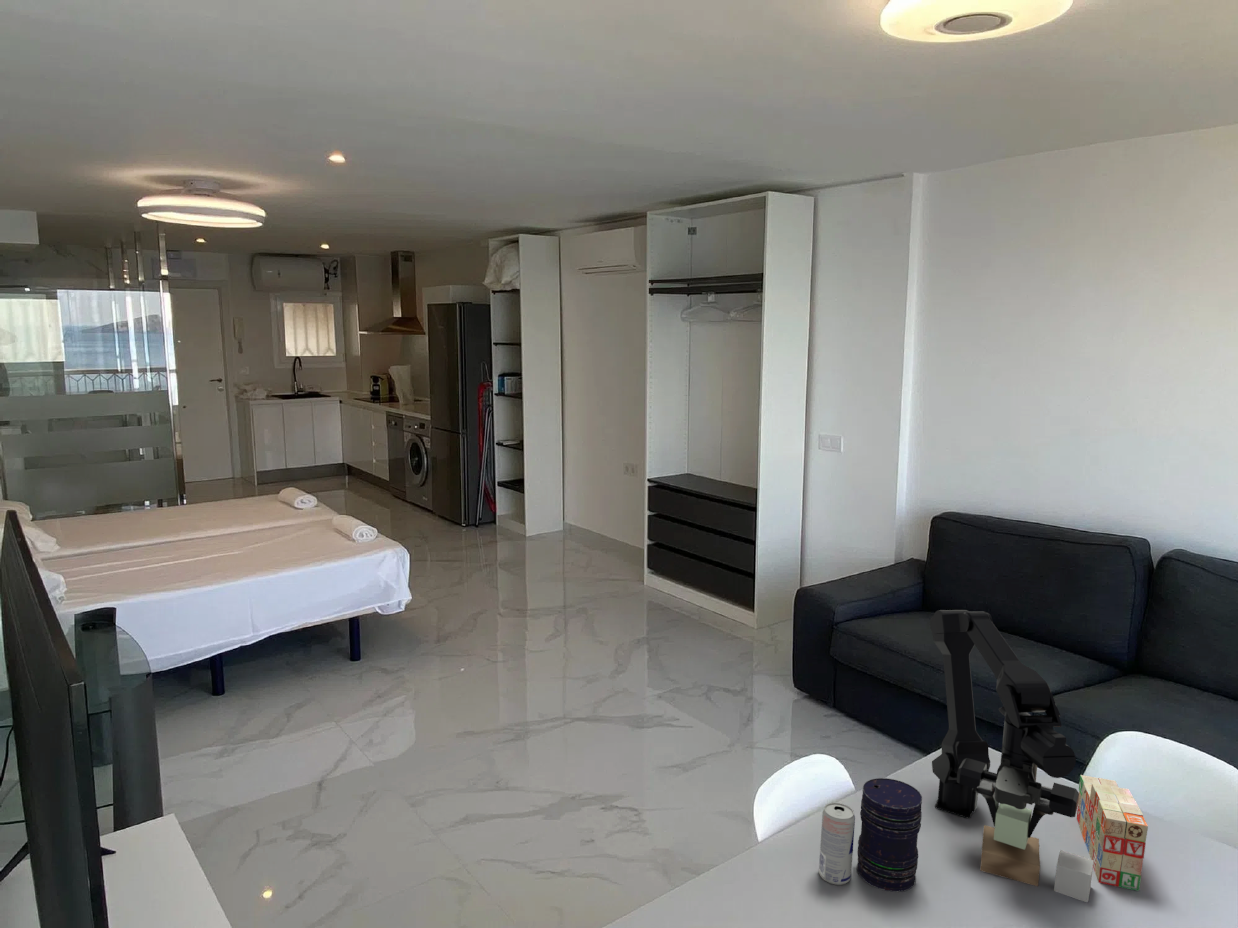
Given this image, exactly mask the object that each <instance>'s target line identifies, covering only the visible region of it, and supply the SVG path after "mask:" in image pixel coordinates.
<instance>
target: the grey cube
mask: <svg viewBox="0 0 1238 928" xmlns="http://www.w3.org/2000/svg"><path fill="white" fill-rule="evenodd" d="M1093 861H1094V860H1091V858H1089V857H1084V856H1081V855H1078V854H1075V853H1072V852H1069V851H1066V850H1062V849H1059V854H1058V858H1057V861H1056V866H1055V867H1056V869H1055V878H1054V888H1053V892H1056V893H1059V894H1061V895H1064V896H1067V897H1071V898H1073V899H1076V900H1079V901H1081V902H1084V903H1088V902H1089V898H1090V893H1091V888H1092V886H1091V885H1092V878H1093V870H1094V868H1093Z"/></svg>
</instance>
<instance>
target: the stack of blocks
mask: <svg viewBox="0 0 1238 928" xmlns="http://www.w3.org/2000/svg"><path fill="white" fill-rule="evenodd" d="M1078 792H1079V800H1078V806H1077V811H1076V820H1077V823H1078V826H1079V830H1080V833H1081V836H1082V838H1083V841H1084V844H1085V846H1086V849H1087V852H1088V854H1089V857H1090V858H1089V859H1091V860H1094V861H1093V870H1094V874H1095V876H1096V880H1097V883H1099V884H1104V885H1109V886H1113V887H1120V888H1122V889H1123V888H1124V889H1129V890H1132V891H1136V892H1139V891H1140V887H1141V883H1142V882H1141V880H1142V869H1143V864H1144V863H1143V861H1144V859H1145V853H1146V842H1147V838H1148V837H1147V835H1148V829H1149V825H1148V824H1147V822H1146V819H1145V817H1144V814H1143V812H1142V810H1141V809H1140V807H1139V804H1138V802H1137V801H1136V798H1134V796H1133V794H1132V792H1131V791H1130V789H1129V788H1126V787H1125V788H1124V787H1119V785H1118V783H1117V781H1116V780H1114V779H1108V778H1102V777H1101V778H1100V777H1094V776H1089V775H1083V774H1080V775H1079V783H1078Z"/></svg>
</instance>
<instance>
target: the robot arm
mask: <svg viewBox="0 0 1238 928" xmlns="http://www.w3.org/2000/svg"><path fill="white" fill-rule="evenodd" d="M929 627H930V630H931V634H932V641H933V643H934V644H935V645H936V648H938V650H939V651H940V652H941V654H942V658H943V659H942V660H943V672H944V683H945V695H946V706H947V708H946V709H947V720H948V730H947V732H946V734H945V736H944V737H943V740H942V741H941V753H940V754H939V755H938V756H937V757H936V758H934V759H932V761H931V766H932V767H931V768H932V770H931V771H932V773H933V774H934V775H935V776H936V777H937V779H939V782H938V793H937V794H938V795H937V800H936V803H935V805H934V807H935V808H936V809H939V810H941V811H945V812H947V813H948V812H949V813H951V814H954V815H957V816H960V817H963V818H966V819H970V818H971V816H972V814H973V813H975V812H976V809H977V807H978V799H979V794H980V795H981V796H982V797H983V798H984V799H985V801H986V804H987V806H988V810H989V812H990V816H991V820H992V824H993V827H994V828H995V820H996V812H997V810H998V807H999V805H1000V803H1001V804H1007V805H1010V806H1013V807H1015V808H1017V809H1025V808H1027V805H1030V806H1032V805H1033V804H1034V806H1033V809H1032V815H1031V821H1030V824H1029V828H1028V836H1027V837H1028V838H1030V837H1032V834H1033V833H1034V831H1035V829H1036V827H1037V825H1038V824H1039V822H1040V820H1042V818H1043V817H1044V816H1045V815H1049V816H1053V815H1054V813H1056V814H1059V815H1061V816H1065V817H1069V818H1076V816H1077V810H1078V800H1079V790H1077V788H1075V787H1071V786H1068V785H1064V784H1061V783H1057V782H1053V785H1052V787H1049V786H1045V785H1042V783H1041V782H1038V781H1037V774H1038V773H1037V772H1038V768H1039V769H1041V771H1043V772H1044V773H1045V774H1046V775H1048V776H1050V777H1051V778H1055V779H1060V778H1064V777H1067V776H1068V775H1069V774H1070V773H1071V772H1072V771H1073V770H1074V768H1075V767H1076V764H1077V757H1076V755H1075V751H1074V749H1073V748H1072V747H1070V746H1069V745H1068V744H1067V737H1066V736H1065V735H1063V734H1061V733H1059V732H1057V731H1056V730H1055V729H1053V728H1061V727H1062V721H1061V718H1060V717H1061V713H1060V711H1059V709H1058V706H1057V703H1056V701H1055V698H1054V695H1053V692H1052V689H1051V688H1050V686H1049V684H1048V682H1047V681H1046V680H1045V678H1043V677H1042V676H1041V675H1040V674H1039V673H1038V672H1037V671H1036V670H1034V669H1033V668H1030V667H1029V666H1026V665H1025V664H1023V663H1022V661H1020V660H1019V658H1018V656H1017V654H1015V652H1014V651H1013V649H1012V648H1011V647H1010V645H1009V643H1008V642H1007V641H1006V639H1005V638H1004V637H1003V635H1002V634H1001V632H1000V631H999V630H998V628H997V627H996V625H995V624H994V620H993V617H992V615H991V614H990V613H989V612H986V611H969V610H967V609H952V610H951V609H949V610H948V609H947V610H946V609H940V610H939V609H938V610H936V611H935V612H934V614H933V615H932V616H930V620H929ZM974 647H976V648H977V650H978V652H979V653H980V655H981V656H982V658H983V659H984V661H985V662H986V664H987V666H988V668H989V669H990V670H991V672H992V673H993V675H994V677H995V678H996V684H995V685H996V686H995V690H996V691H995V692H996V693H997V695H998V697H999V700H1000V702H1001V704H1002V706H1001V707H999V708H998V711H999V713H1001V714H1002V715H1003V716H1004V721H1003V723H1004V724H1003V725H1004V726H1003V733H1002V734H1003V735H1002V744H1001V745H1002V746H1001V755H1000V764H999V765H998V768H997V770H996V772H992V771H990V767H991V759H990V756H989V755H990V754H989V744H988V742H987V741H986V740H983V739H982V737H981V736H980V735H979V733H978V732H977V728H976V717H975V706H974V705H975V704H974V694H973V693H974V692H973V682H972V671H971V660H970V656H971V655H970V654H971V653H972V651H973V649H974ZM1030 713H1045V714H1043V715H1042V714H1038V715H1037V714H1034V715H1033V714H1030Z"/></svg>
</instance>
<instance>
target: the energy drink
mask: <svg viewBox="0 0 1238 928" xmlns="http://www.w3.org/2000/svg"><path fill="white" fill-rule="evenodd" d="M855 823H856V816H855V812H854V810H853V808H851V807H850V806H848V805H847V804H844V803H841V802H840V803H839V802H830V803H827V804H825V806H824V808H823V810H822V814H821V830H820V831H821V832H820V845H819V863H818V874H819V876H820V877H821V878H822V880H824V881H825V882H826V883H828V884H831V885H836V886H842V885H846V884H847V883H849V882H850V881H851V879H852V878H851V877H852V869H853V868H852V867H853V851H854V838H855V826H856V825H855Z"/></svg>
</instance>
